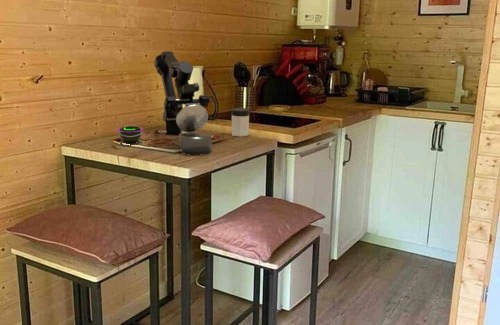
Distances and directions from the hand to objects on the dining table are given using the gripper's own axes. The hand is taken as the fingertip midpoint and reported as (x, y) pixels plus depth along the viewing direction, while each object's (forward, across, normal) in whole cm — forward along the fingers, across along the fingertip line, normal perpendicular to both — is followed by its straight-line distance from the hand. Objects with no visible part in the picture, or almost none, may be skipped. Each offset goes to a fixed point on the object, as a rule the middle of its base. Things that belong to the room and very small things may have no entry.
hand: (191, 118), depth 206 cm
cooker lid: (+1, 0, -1) cm, 1 cm away
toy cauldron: (-1, -23, +19) cm, 29 cm away
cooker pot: (+12, 0, +5) cm, 14 cm away
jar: (-3, +29, +21) cm, 36 cm away
